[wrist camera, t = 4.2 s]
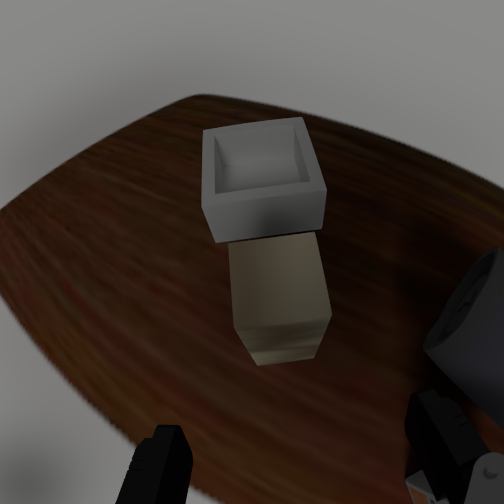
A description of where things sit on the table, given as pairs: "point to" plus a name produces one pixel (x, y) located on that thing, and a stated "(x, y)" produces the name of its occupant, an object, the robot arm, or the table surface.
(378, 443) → the table surface
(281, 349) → the birch peg
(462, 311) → the bluetooth speaker
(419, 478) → the skincare box
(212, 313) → the table surface
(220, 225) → the socket stand
